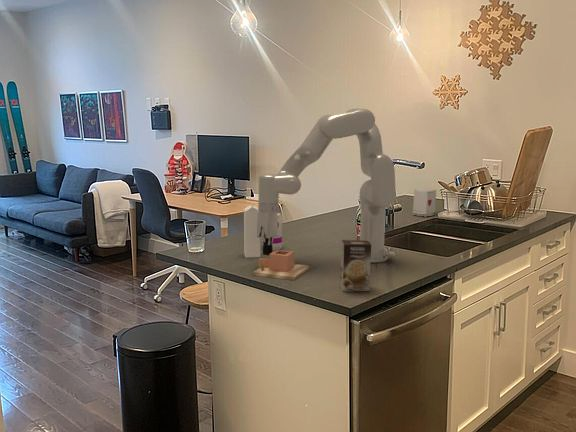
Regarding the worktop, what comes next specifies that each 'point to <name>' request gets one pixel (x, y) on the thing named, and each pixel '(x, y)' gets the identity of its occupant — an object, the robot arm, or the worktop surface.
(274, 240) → the supplement can
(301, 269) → the post base
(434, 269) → the worktop surface
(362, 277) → the coffee box
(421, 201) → the supplement box
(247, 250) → the milk
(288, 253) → the square nut with handle
